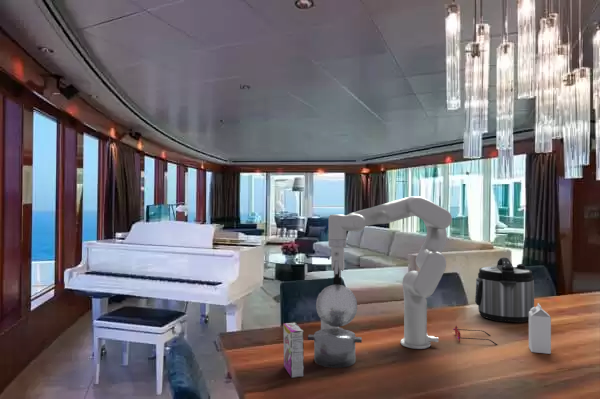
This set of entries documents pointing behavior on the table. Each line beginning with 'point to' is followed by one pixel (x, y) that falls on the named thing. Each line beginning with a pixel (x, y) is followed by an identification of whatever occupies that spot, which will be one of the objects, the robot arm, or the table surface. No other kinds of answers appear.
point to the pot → (334, 347)
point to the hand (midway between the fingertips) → (337, 286)
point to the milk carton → (539, 330)
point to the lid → (336, 305)
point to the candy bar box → (293, 349)
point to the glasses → (469, 338)
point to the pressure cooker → (505, 292)
